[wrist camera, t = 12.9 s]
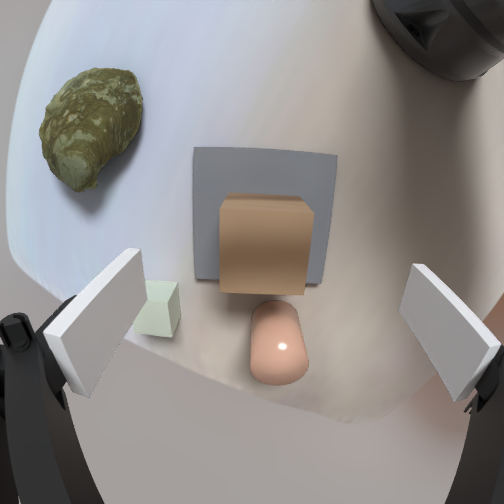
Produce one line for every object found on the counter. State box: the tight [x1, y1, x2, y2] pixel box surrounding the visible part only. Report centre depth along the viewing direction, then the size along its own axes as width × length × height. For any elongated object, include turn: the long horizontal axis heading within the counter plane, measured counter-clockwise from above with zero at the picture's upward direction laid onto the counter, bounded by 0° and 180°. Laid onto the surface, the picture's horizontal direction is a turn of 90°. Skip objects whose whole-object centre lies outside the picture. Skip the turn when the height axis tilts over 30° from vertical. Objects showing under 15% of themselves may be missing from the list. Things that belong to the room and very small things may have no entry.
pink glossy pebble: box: [250, 300, 309, 385], centre depth 25 cm, size 5×5×7 cm
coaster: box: [193, 147, 337, 284], centre depth 24 cm, size 12×12×1 cm
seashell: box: [39, 68, 143, 193], centre depth 19 cm, size 10×7×10 cm
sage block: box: [133, 280, 181, 338], centre depth 26 cm, size 4×4×4 cm
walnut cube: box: [219, 193, 314, 295], centre depth 21 cm, size 6×6×6 cm
